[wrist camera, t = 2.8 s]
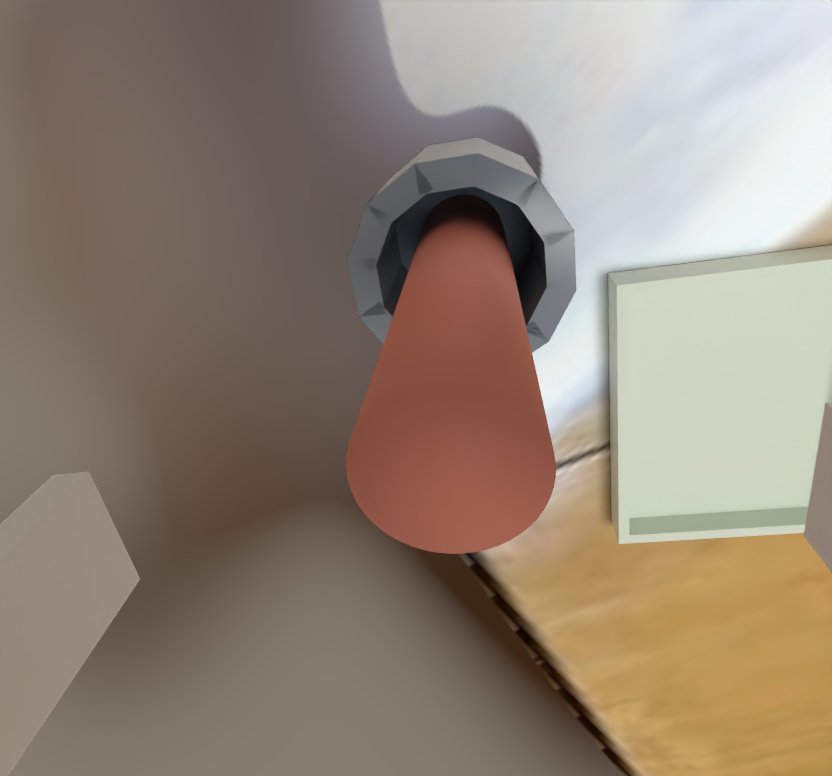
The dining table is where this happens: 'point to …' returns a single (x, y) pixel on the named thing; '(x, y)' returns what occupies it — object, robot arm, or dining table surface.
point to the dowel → (454, 397)
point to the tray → (718, 394)
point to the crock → (479, 176)
